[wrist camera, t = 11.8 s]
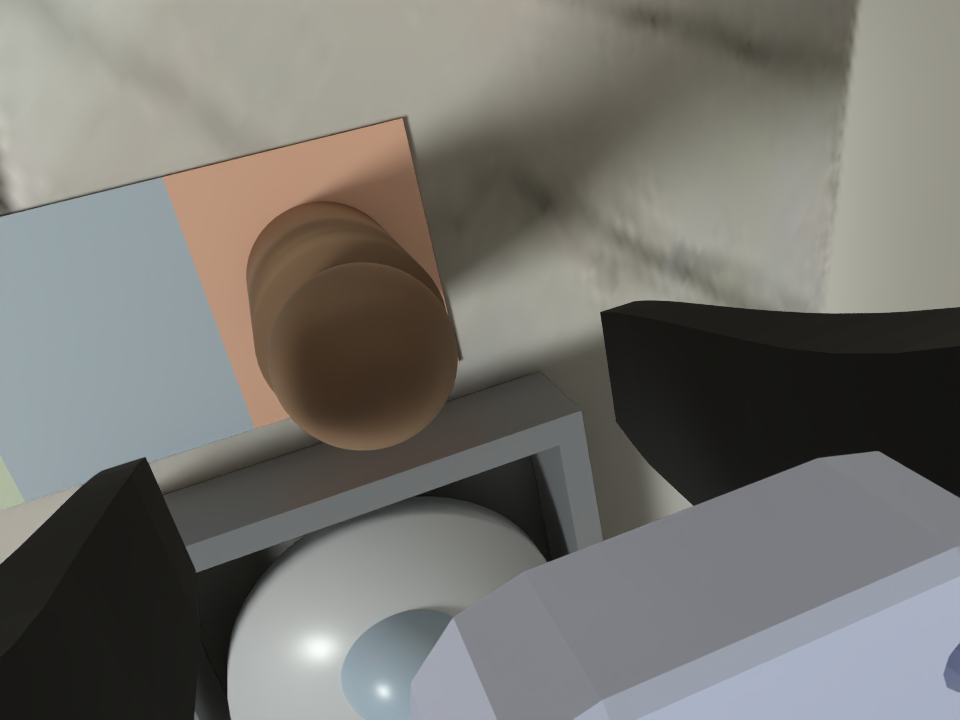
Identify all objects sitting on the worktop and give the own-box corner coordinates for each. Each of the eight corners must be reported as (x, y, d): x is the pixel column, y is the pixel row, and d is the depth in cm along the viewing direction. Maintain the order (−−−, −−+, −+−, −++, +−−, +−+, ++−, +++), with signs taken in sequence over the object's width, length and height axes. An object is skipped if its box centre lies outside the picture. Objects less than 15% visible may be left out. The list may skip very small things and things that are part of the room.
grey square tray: (596, 676, 29) (635, 739, 26) (255, 821, 26) (259, 906, 23) (540, 371, 23) (581, 410, 21) (106, 513, 21) (89, 579, 18)
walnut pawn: (413, 326, 22) (509, 454, 14) (272, 367, 21) (299, 524, 14) (380, 184, 20) (469, 250, 13) (225, 223, 19) (228, 316, 12)
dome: (559, 669, 27) (610, 758, 24) (284, 783, 25) (295, 900, 22) (509, 429, 23) (561, 494, 20) (176, 543, 21) (168, 638, 18)
